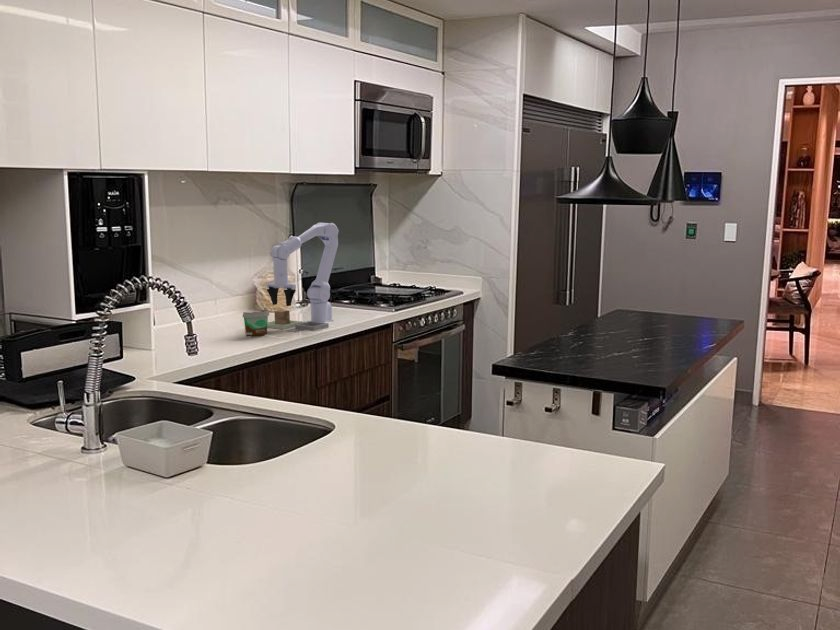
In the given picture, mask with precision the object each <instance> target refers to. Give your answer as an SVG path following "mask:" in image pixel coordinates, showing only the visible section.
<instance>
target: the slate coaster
mask: <svg viewBox="0 0 840 630" xmlns="http://www.w3.org/2000/svg"><path fill="white" fill-rule="evenodd" d="M303 331H304V329H295V328H288V329H284V332H288V333H289V332H291V333H298V332H303Z"/></svg>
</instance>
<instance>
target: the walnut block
mask: <svg viewBox="0 0 840 630" xmlns="http://www.w3.org/2000/svg"><path fill="white" fill-rule="evenodd" d="M290 314H291V313H290V310H287V309H279V310H275V311H274V321H275V324H278V325H287V324H290V319H291V317H290V316H291V315H290Z"/></svg>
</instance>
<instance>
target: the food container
mask: <svg viewBox="0 0 840 630" xmlns="http://www.w3.org/2000/svg"><path fill="white" fill-rule="evenodd" d="M269 316H270V312H269V310H268V308H264V309H263V310H262V311H252V312H250V311H249V312H247V311H246V312H245V311H243V314H242V318H243V322H244V323H243V324H244V330H245V336H246V337H248V336H251V337H250V338H254V337H255V338H256V337H258V338H259V337H264V336H265V337H266V334H268V327H267V323H268V322H269V321H268V317H269Z"/></svg>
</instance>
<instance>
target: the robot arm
mask: <svg viewBox="0 0 840 630" xmlns="http://www.w3.org/2000/svg"><path fill="white" fill-rule="evenodd" d="M339 232H340V230H339V228H338V227H337V225H336V224H335V223H334V222H330V223H329V222H317V223H316V224H313V225H312V226H311V227H309V229H307V230H305V231H304V232H303V233H301V234H300V235H298V236H293V235H292V236H289V237H288V239H287V240H285V241H281V242H280V244H279V245H278V244H277V245H274V246H273V247H272V249H271V251H270V252H269V253H270V256H271V258H272V262H273V282H267V283H266V288H267V289H266V291H267V293H268V295H269V297H270V301H271V303H272V305H273V306H275V305H278V295H279V289H281V290H282V289H283V293H284V296H285V304H286V307H291V306H292V303H293V302H292V301H293V298H294V295H295V293H296V291H297V284H295V283H294V284H293V283H289V280H288V279H289V278H288V275H289V274H288V259H289V257H290V255H291V254H292V253H294V252H296V251H297V250H299V249H300V248H301V247H302V245H303V243H306V242H308V241H309V240H311V239H312V238H315V237H318V238H319V239H320V240H321V241H322V242H323V244H324V248H323V252H322V256H321V259H320V263H319V266H318V269H317V273H316V278H315V280H313V281H312V282H311V285H310V286H309V288H308V289H307V292H306V295H307V298H308V299H309V303H310V320H307V321H306V322H321V323H328V322H334V319H333V309H332V304H331V302H329V301H328V300H329V299H330V297H331V292H330V291H331V286H330V284H329V280H330V277H331V272H332V269H333V267H334V262H335V258H336V254H337V252H338V251H337V250H338V247H339V236H338V235H339Z"/></svg>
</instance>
